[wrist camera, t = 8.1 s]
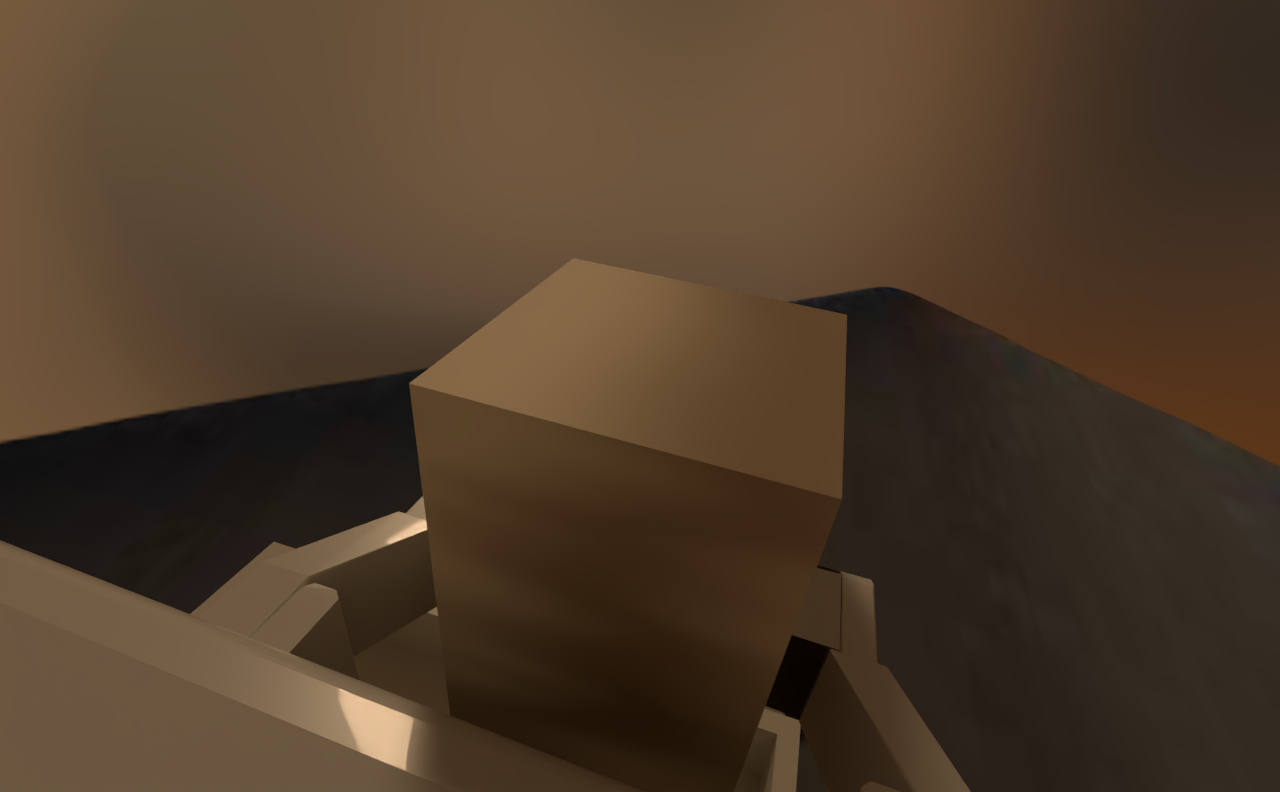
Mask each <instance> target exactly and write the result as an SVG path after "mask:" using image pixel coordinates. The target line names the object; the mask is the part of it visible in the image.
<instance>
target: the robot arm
mask: <svg viewBox="0 0 1280 792" xmlns="http://www.w3.org/2000/svg"><path fill="white" fill-rule="evenodd" d="M436 607H437V604H436V596H435V588H434V580H433V572H432V564H431V555H430V547H429V539H428V531H427V523H426V515H425V507H424V499H423V496H422V497H421V498H420V499H419V500H418V501H417V502H416V503H415V504H414V505H413V506H412V507H411V509H410V510H409V511H408V512H407V513H406V514H405V513H402V512H396V513H393V514H391V515H388V516H385V517H382V518H380V519H377V520H374V521H371V522H369V523H366V524H363V525H361V526H358V527H355V528H352V529H350V530H347V531H344V532H341V533H339V534H336V535H333V536H331V537H328V538H325V539H322V540H320V541H317V542H314V543H311V544H309V545H306V546H303V547H301V548H298V549H295V550H292V551H290V552H287V553H284V554H281V555H279V556H276V557H273V558H270V559H268V560H265V561H263V562H261V563H260V564H259V565H258V566H257V567H256V568H255V569H253V570H252V571H251V572H250V573H249V574H248V575H246V576H245V577H244V578H243V579H242V580H241V581H240V582H238V583H237V584H236V585H235V586H234V587H233V588H232V589H230V590H229V591H228V592H227V593H226V594H225V595H224V596H222V597H221V598H220V599H219V600H218V601H217V602H215V603H214V604H213V605H212V606H211V607H210V608H209V609H207V610H206V611H205V612H204V613H203V614H202V615H201V616H199V617H195V616H193V615H190V614H187V613H185V612H182V611H180V610H177V609H175V608H172V607H170V606H167V605H164V604H162V603H159V602H157V601H154V600H152V599H149V598H146V597H144V596H141V595H139V594H136V593H134V592H131V591H128V590H126V589H123V588H121V587H118V586H116V585H113V584H111V583H108V582H105V581H103V580H100V579H98V578H95V577H93V576H90V575H87V574H85V573H82V572H80V571H77V570H75V569H72V568H69V567H67V566H64V565H62V564H59V563H57V562H54V561H52V560H49V559H46V558H44V557H41V556H39V555H36V554H34V553H31V552H28V551H26V550H23V549H21V548H18V547H16V546H13V545H10V544H8V543H5V542H3V541H0V792H646V791H643V790H641V789H638V788H635V787H633V786H630V785H628V784H625V783H623V782H620V781H617V780H615V779H612V778H610V777H607V776H605V775H602V774H599V773H597V772H594V771H592V770H589V769H587V768H584V767H581V766H579V765H576V764H574V763H571V762H569V761H566V760H563V759H561V758H558V757H556V756H553V755H550V754H548V753H545V752H543V751H540V750H538V749H535V748H532V747H530V746H527V745H525V744H522V743H519V742H517V741H514V740H512V739H509V738H507V737H504V736H501V735H499V734H496V733H494V732H491V731H489V730H486V729H483V728H481V727H478V726H476V725H473V724H470V723H468V722H465V721H463V720H460V719H458V718H455V717H452V716H450V715H447V714H445V713H442V712H439V711H437V710H434V709H432V708H429V707H427V706H424V705H421V704H419V703H416V702H414V701H411V700H409V699H406V698H403V697H401V696H398V695H396V694H393V693H391V692H388V691H385V690H383V689H380V688H378V687H375V686H373V685H370V684H367V683H365V682H362V681H360V678H359V674H358V671H357V667H356V663H355V659H354V656H356V655H358V654H359V653H361V652H362V651H364V650H366V649H367V648H369V647H371V646H372V645H374V644H376V643H377V642H379V641H381V640H382V639H384V638H386V637H387V636H389V635H391V634H392V633H394V632H396V631H397V630H399V629H401V628H402V627H404V626H406V625H407V624H409V623H411V622H412V621H414V620H416V619H417V618H419V617H421V616H422V615H424V614H426V613H427V612H429V611H431V610H432V609H434V608H436ZM766 706H767V707H769V708H772V709H775V710H777V711H780V712H783V713H785V714H788V715H791V716H794V717H796V718H799V719H800V720H799V723H800V725H801V728H802V730H803V732H804V735H805V737H806V740H807V742H808V745H809V747H810V750H811V752H812V755H813V757H814V759H815V762H816V764H817V767H818V769H819V772H820V774H821V777H822V779H823V782H824V784H825V786H826V789H827V791H828V792H970V790H969V789H968V787H967V786H966V784H965V783H964V781H963V780H962V778H961V777H960V775H959V774H958V772H957V771H956V769H955V768H954V766H953V765H952V763H951V762H950V760H949V759H948V757H947V756H946V754H945V753H944V751H943V750H942V748H941V747H940V745H939V744H938V742H937V741H936V739H935V738H934V736H933V735H932V733H931V732H930V731H929V729H928V728H927V726H926V725H925V723H924V722H923V720H922V719H921V717H920V716H919V714H918V713H917V711H916V710H915V708H914V707H913V705H912V704H911V702H910V701H909V699H908V698H907V696H906V695H905V693H904V692H903V690H902V689H901V687H900V686H899V684H898V683H897V681H896V680H895V678H894V677H893V675H892V674H891V672H890V671H889V669H888V668H887V667H885V666H883V665H880V664H877V645H876V621H875V598H874V584H873V582H872V581H871V580H870V579H866V578H862V577H859V576H855V575H852V574H848V573H844V572H839V571H837V570H833V569H829V568H826V567H822V566H819V565H817V568H816V570H815V573H814V576H813V579H812V581H811V584H810V587H809V589H808V592H807V595H806V598H805V600H804V603H803V606H802V608H801V611H800V614H799V616H798V619H797V622H796V625H795V627H794V630H793V633H792V635H791V638H790V641H789V644H788V646H787V649H786V652H785V654H784V657H783V660H782V662H781V665H780V668H779V671H778V673H777V676H776V679H775V681H774V684H773V687H772V689H771V692H770V695H769V698H768V700H767V703H766Z"/></svg>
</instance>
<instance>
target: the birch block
mask: <svg viewBox="0 0 1280 792" xmlns="http://www.w3.org/2000/svg"><path fill="white" fill-rule="evenodd" d="M846 332H847V315H845V314H840V313H836V312H831V311H826V310H821V309H816V308H811V307H807V306H802V305H797V304H792V303H787V302H782V301H778V300H773V299H768V298H763V297H758V296H753V295H749V294H744V293H738V292H734V291H729V290H724V289H719V288H715V287H709V286H705V285H700V284H695V283H690V282H685V281H681V280H676V279H671V278H666V277H661V276H657V275H651V274H647V273H642V272H637V271H632V270H628V269H623V268H617V267H613V266H608V265H603V264H599V263H594V262H588V261H584V260H579V259H574V258H573V259H572V260H571V261H569V262H568V263H567V264H566V265H564V266H563V267H562V268H560V269H559V270H558V271H556V272H555V273H554V274H552V275H551V276H550V277H548V278H547V279H546V280H544V281H543V282H542V283H541V284H539V285H538V286H537V287H535V288H534V289H533V290H531V291H530V292H529V293H527V294H526V295H525V296H523V297H522V298H521V299H520V300H518V301H517V302H516V303H514V304H513V305H512V306H510V307H509V308H508V309H506V310H505V311H504V312H502V313H501V314H500V315H499V316H497V317H496V318H495V319H493V320H492V321H491V322H489V323H488V324H487V325H485V326H484V327H483V328H481V329H480V330H479V331H477V332H476V333H475V334H474V335H472V336H471V337H470V338H468V339H467V340H466V341H464V342H463V343H462V344H460V345H459V346H458V347H456V348H455V349H454V350H453V351H451V352H450V353H449V354H447V355H446V356H445V357H443V358H442V359H441V360H439V361H438V362H437V363H435V364H434V365H433V366H432V367H430V368H429V369H428V370H426V371H425V372H424V373H422V374H421V375H420V376H418V377H417V378H416V379H414V380H413V381H412V382H411V383H409V385H410V393H411V401H412V410H413V418H414V426H415V434H416V442H417V450H418V458H419V466H420V474H421V482H422V491H423V499H424V507H425V515H426V523H427V531H428V539H429V547H430V555H431V564H432V572H433V580H434V588H435V596H436V604H437V612H438V620H439V628H440V636H441V645H442V653H443V661H444V669H445V677H446V685H447V693H448V701H449V709H450V716H452V717H455V718H458V719H460V720H463V721H465V722H468V723H470V724H473V725H476V726H478V727H481V728H483V729H486V730H489V731H491V732H494V733H496V734H499V735H501V736H504V737H507V738H509V739H512V740H514V741H517V742H519V743H522V744H525V745H527V746H530V747H532V748H535V749H538V750H540V751H543V752H545V753H548V754H550V755H553V756H556V757H558V758H561V759H563V760H566V761H569V762H571V763H574V764H576V765H579V766H581V767H584V768H587V769H589V770H592V771H594V772H597V773H599V774H602V775H605V776H607V777H610V778H612V779H615V780H617V781H620V782H623V783H625V784H628V785H630V786H633V787H635V788H638V789H641V790H643V791H646V792H734V790H735V787H736V784H737V781H738V779H739V776H740V773H741V771H742V768H743V765H744V763H745V760H746V757H747V754H748V752H749V749H750V746H751V744H752V741H753V738H754V735H755V733H756V730H757V727H758V725H759V722H760V719H761V717H762V714H763V711H764V708H765V706H766V703H767V700H768V698H769V695H770V692H771V689H772V687H773V684H774V681H775V679H776V676H777V673H778V671H779V668H780V665H781V662H782V660H783V657H784V654H785V652H786V649H787V646H788V644H789V641H790V638H791V635H792V633H793V630H794V627H795V625H796V622H797V619H798V616H799V614H800V611H801V608H802V606H803V603H804V600H805V598H806V595H807V592H808V589H809V587H810V584H811V581H812V579H813V576H814V573H815V570H816V568H817V565H818V562H819V560H820V557H821V554H822V552H823V549H824V546H825V543H826V541H827V538H828V535H829V533H830V530H831V527H832V525H833V522H834V519H835V516H836V514H837V511H838V508H839V506H840V503H841V500H842V475H843V440H844V404H845V368H846Z"/></svg>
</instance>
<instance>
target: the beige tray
mask: <svg viewBox="0 0 1280 792" xmlns="http://www.w3.org/2000/svg"><path fill="white" fill-rule="evenodd" d="M292 550H295V549H294V548H291V547H288V546H285V545H282V544H279V543H276V542H273V543H272V544H271V545H270V546H268V547H267V548H266V549H265V550H264V551H263V552H262V553H260V554H259V555H258V556H257V557H256V558H255V559H253V560H252V561H251V562H250V563H249V564H248V565H247V566H245V567H244V568H243V569H242V570H241V571H240V572H238V573H237V574H236V575H235V576H234V577H233V578H232V579H230V580H229V581H228V582H227V583H226V584H225V585H223V586H222V587H221V588H220V589H219V590H218V591H217V592H215V593H214V594H213V595H212V596H211V597H210V598H208V599H207V600H206V601H205V602H204V603H203V604H202V605H200V606H199V607H198V608H197V609H196V610H195V611H193V612H192V613H191V614H190V615H193V616H195V617H199V616H201V615H202V614H203V613H204V612H205V611H206V610H207V609H209V608H210V607H211V606H212V605H213V604H214V603H215V602H217V601H218V600H219V599H220V598H221V597H222V596H224V595H225V594H226V593H227V592H228V591H229V590H230V589H232V588H233V587H234V586H235V585H236V584H237V583H238V582H240V581H241V580H242V579H243V578H244V577H245V576H246V575H248V574H249V573H250V572H251V571H252V570H253V569H255V568H256V567H257V566H258V565H259V564H260V563H261V562H263V561H265V560H268V559H270V558H273V557H276V556H279V555H281V554H284V553H287V552H290V551H292ZM354 659H355V663H356V667H357V671H358V674H359V678H360V681H362V682H365V683H367V684H370V685H373V686H375V687H378V688H380V689H383V690H385V691H388V692H391V693H393V694H396V695H398V696H401V697H403V698H406V699H409V700H411V701H414V702H416V703H419V704H421V705H424V706H427V707H429V708H432V709H434V710H437V711H439V712H442V713H445V714H447V715H450V709H449V701H448V693H447V685H446V677H445V669H444V661H443V653H442V645H441V636H440V628H439V620H438V612H437V607H436V608H434V609H432V610H431V611H429V612H427V613H426V614H424V615H422V616H421V617H419V618H417V619H416V620H414V621H412V622H411V623H409V624H407V625H406V626H404V627H402V628H401V629H399V630H397V631H396V632H394V633H392V634H391V635H389V636H387V637H386V638H384V639H382V640H381V641H379V642H377V643H376V644H374V645H372V646H371V647H369V648H367V649H366V650H364V651H362V652H361V653H359V654H358V655H356V656H354ZM800 727H801V725H800V723H799V720H796V719H793V718H790V717H787V716H784V715H782V714H779V713H776V712H773V711H770V710H767V709H764V711H763V714H762V717H761V719H760V722H759V725H758V727H757V730H756V733H755V735H754V738H753V741H752V744H751V746H750V749H749V752H748V754H747V757H746V760H745V763H744V765H743V768H742V771H741V773H740V776H739V779H738V781H737V784H736V787H735V790H734V792H796V782H797V768H798V755H799V741H800Z"/></svg>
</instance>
